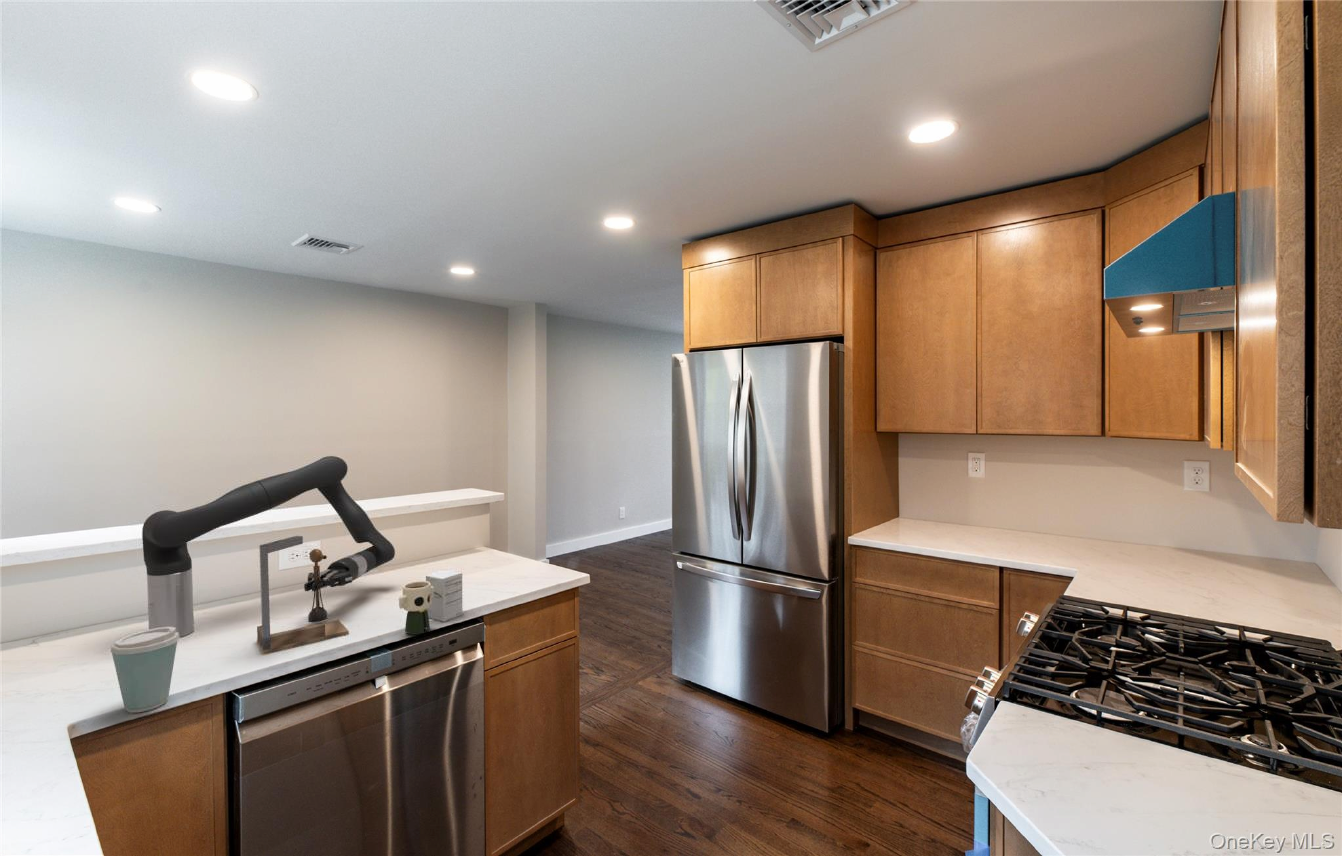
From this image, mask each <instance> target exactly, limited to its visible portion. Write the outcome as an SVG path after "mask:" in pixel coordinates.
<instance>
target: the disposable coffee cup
mask: <svg viewBox="0 0 1342 856" xmlns="http://www.w3.org/2000/svg"><path fill="white" fill-rule="evenodd" d="M180 638H181V637H179V633H178V632H176V628H175V627H161V628H155V629H150V630H149V629H145V630H141V631H139V632H135V633H131V634H127V635H125V636H124V637H121V638H119V639H117V641H115V642H114V644H112V645H111V647H110V653H111V654H112V660H113V664H114V668H115V672H116V676H117V681H118V685H119V691H120V694H121V698H122V703H123V706H124V708H125V709H126V712H128V713H132V714H133V713H142V712H148V711H151V710H154V709H157V708H159V707H161V706H162V705H165V704H166V703H167V701H168V698H169V696H170V690H171V683H172V677H173V670H174V663H175V657H176V652H177V651H176V650H177V646H178V641H179V640H180Z"/></svg>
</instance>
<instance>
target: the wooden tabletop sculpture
mask: <svg viewBox="0 0 1342 856" xmlns="http://www.w3.org/2000/svg"><path fill="white" fill-rule="evenodd" d="M327 557H328V556H327V555H325V554H323V552H322V550H321V549H319V548H313V549H312V550H311V551H310V552H309V560H310V561H311V562H312V563H314V565H313V566H312V568H313V573H314V583H315V582H317V581H318V576H319V580H320V573H321V570H320V565H319V563H321V561H322V560H326V559H327ZM323 603H324V602H323V598H322V588H321V589H319V590H317V591H313V600H312V605H311V610H310V612H309V613H308V619H307V620H308V621H307V622H308V623H314V624H315V623H322V622H325V621H326V620H328V619H329V618H328V611H327V610H326V609H325V607H324V604H323Z"/></svg>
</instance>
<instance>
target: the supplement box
mask: <svg viewBox="0 0 1342 856" xmlns="http://www.w3.org/2000/svg"><path fill="white" fill-rule="evenodd" d="M425 581H427V582H430V583H431V586H433V587H434V597H433V598H431V599H432V602H431V605H430V607H429V608H427V611H428V617H429V619H432V620H435V621H440V622H443V623H445V622H446V621H449V620H452V619H455V618H458V617H459V616H462V615H463V572H459V571H454V570H450V569H442V570H439V571H435V572H432V573H430V574H426V575H425Z"/></svg>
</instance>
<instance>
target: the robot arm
mask: <svg viewBox="0 0 1342 856" xmlns="http://www.w3.org/2000/svg"><path fill="white" fill-rule="evenodd" d="M348 471H349V470H348V464H347V462H346V461H345V460H344V459H343V458H341V457H338V456H336V455H335V456H334V455H329V456H328V455H327V456H324V457H321V458H320V459H318V460H315V461H314V462H312V463H309V464H307V465H305V466H302V467H300V468H297V469H295V470H292V471H288V472H283V473H279V474H275V475H272V476H268V477H265V478H261V479H257V480H255V481H252V482H249V483H247V484H243V485H241V486H238V487H236V488H234V489H231V490H230V491H228V492H226V493H224V494H223V495H222V496H220V497H218V498H217V499H215V500H213V501H211V502H209V503H207V504H204V505H200V506H196V507H193V508H191V509H190V508H189V509H186V510H182V511H174V510H169V509H167V510H159V511H156V512H153V513H152V514H150V516H148V517H147V518H146V519H145V521H144V523H143V525H142V531H141V532H142V533H141V535H142V536H141V538H142V540H141V541H142V551H143V554H142V555H143V561H144V564H145V568H146V579H147V580H146V581H147V587H146V588H147V611H148V612H147V613H148V617H147V618H148V630H150V629H155V628H161V627H175V628H176V632H178V633H179V637H180V638H181V637H182V638H183V637H184V636H187V635H190V634H191V633H193V632H194V631H195V618H194V617H195V616H194V614H195V613H194V591H193V588H194V587H193V563H192V561H193V560H192V557H191V555H190V553H189V549H188V543H189V542H191V541H193V540H196V539H197V538H199V537H201V536H203V535H205V534H208V533H210V532H211V531H214V530H216V529H218V528H221V527H224V526H228V525H230V524H233V523H237V522H239V521H242V520H245V519H247V518H250V517H254V516H256V515H258V514H262V513H264V512H267V511H269V510H271V509H274V508H277V507H279V506H281V505H282V504H285V503H287V502H289V501H291V500H293V499H294V498H296V497H298V496H300V495H302V494H304V493H306V492H309V491H311V490H315V489H317V490H318V491H319V492H320V494H322V496H323V497H324V498H325V499H326V501H327V502H328V503H329V504H330V506H331V507H332V508H333V509H334V510H335V513H336V514H337V515H338V516H339V518H340V519H341V521H342V522H343V525H344V526H345V527H346V529H347V531H348V532H349V534H350V535H351V537H352V539H353V541H354V542H355V543H356V544H363V543H369V544H371V545H372V546H370V547H367V548H364V549H363V550H361V551H358V552H355V553H353V554H350V555H347V556H344V557H342V558H340V559H337V560H336V561H333V562H331V564H329V565H328V566H327V569H326V570H324V571H320V580H319V576H318V581H317V582H315V583H314V572H309V573H308V576H307V582H306V583H304V585H303V586H304V587H303V589H304V591H305V592H309V591H312V592H314V591H315V592H316V591H317V590H319V589H321V590H322V589H325V588H329V587H330V588H335V587H342V586H346V585H348V584H352V582H353V581H355V580H357V579H359V578H360V577H362V575H365V574H367V573H369V572H370V571H372V570H374V569H375V568H379V567H380V566H382V565H384V564H387V563H388V562H390V561H392V560H393V559H394V558H395V555H396V551H395V547H394V545H393V544H392V543H391V541H390V540H388V539H387V538H386V537H385V536H384V535H383V534H382V533H381V532H380V531H379V530H377V528H376V527H375V525H374V524H373V522H372V520H371V519H370V517H369V516H368V514H367V513H366V511H365V510H364V509H363V508H362V506H360V505H359V504H358V503H357V502H356V501H355V500H354V499H353V498H352V497H351V496H350V494H348V492H347V491H346V489H345V487H344V485H343V483H342V481H343V480H344V479H345V477H346V476H347V473H348Z"/></svg>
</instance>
